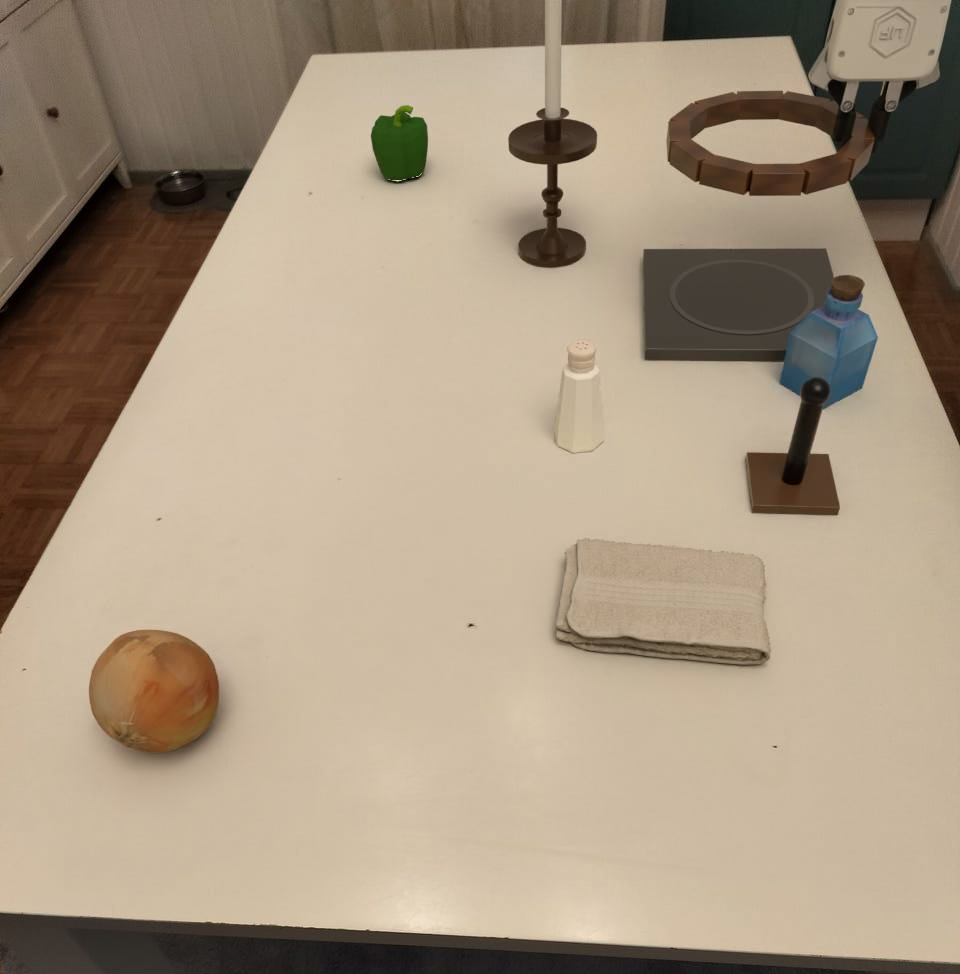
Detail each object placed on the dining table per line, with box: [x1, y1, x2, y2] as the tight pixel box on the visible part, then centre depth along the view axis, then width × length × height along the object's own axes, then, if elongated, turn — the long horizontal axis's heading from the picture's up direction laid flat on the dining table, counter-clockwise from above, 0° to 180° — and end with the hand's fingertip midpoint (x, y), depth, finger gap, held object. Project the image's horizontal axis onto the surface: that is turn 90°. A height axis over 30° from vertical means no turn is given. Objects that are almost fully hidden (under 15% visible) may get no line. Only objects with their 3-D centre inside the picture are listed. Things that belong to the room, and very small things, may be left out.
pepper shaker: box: [553, 338, 605, 454], centre depth 92 cm, size 5×5×11 cm
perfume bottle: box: [778, 274, 879, 410], centre depth 96 cm, size 6×6×12 cm
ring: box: [665, 90, 875, 197], centre depth 96 cm, size 21×21×2 cm
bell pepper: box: [370, 104, 429, 180], centre depth 136 cm, size 8×8×10 cm
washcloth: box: [555, 537, 772, 666], centre depth 80 cm, size 12×18×3 cm, turn 81°
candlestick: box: [507, 0, 598, 268], centre depth 109 cm, size 11×11×35 cm
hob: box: [642, 247, 835, 362], centre depth 110 cm, size 23×23×2 cm
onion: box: [88, 629, 220, 754], centre depth 72 cm, size 10×10×10 cm
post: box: [745, 377, 841, 516], centre depth 85 cm, size 8×8×12 cm
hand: (855, 146), depth 96 cm, fingers closed on ring, 2 cm apart
